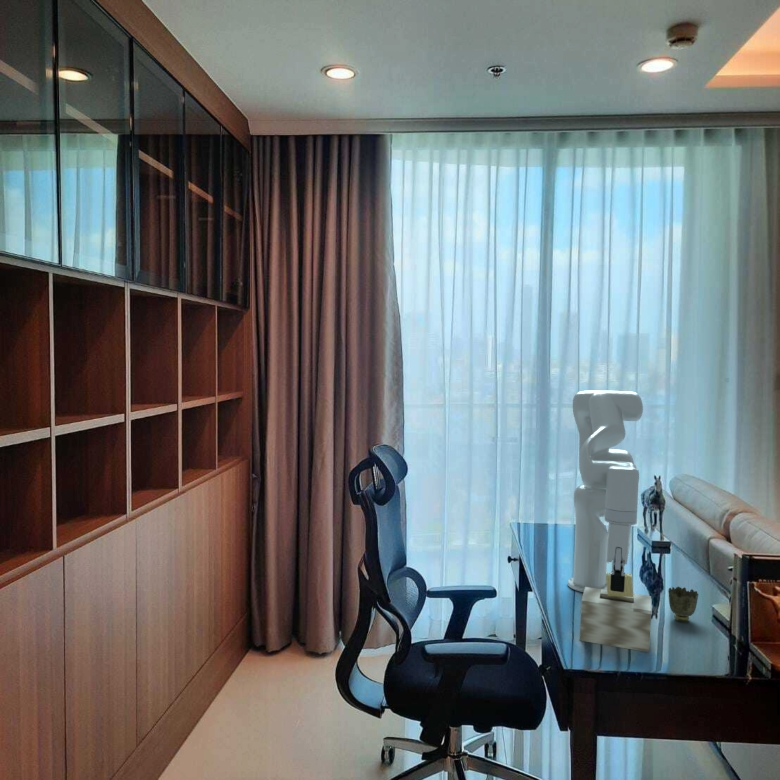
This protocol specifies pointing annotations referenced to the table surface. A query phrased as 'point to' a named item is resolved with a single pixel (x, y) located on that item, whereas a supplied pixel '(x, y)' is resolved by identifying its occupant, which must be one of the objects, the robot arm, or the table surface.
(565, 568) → the table surface
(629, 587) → the yellow flat block
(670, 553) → the table surface
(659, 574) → the table surface
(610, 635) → the box
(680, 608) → the cup
